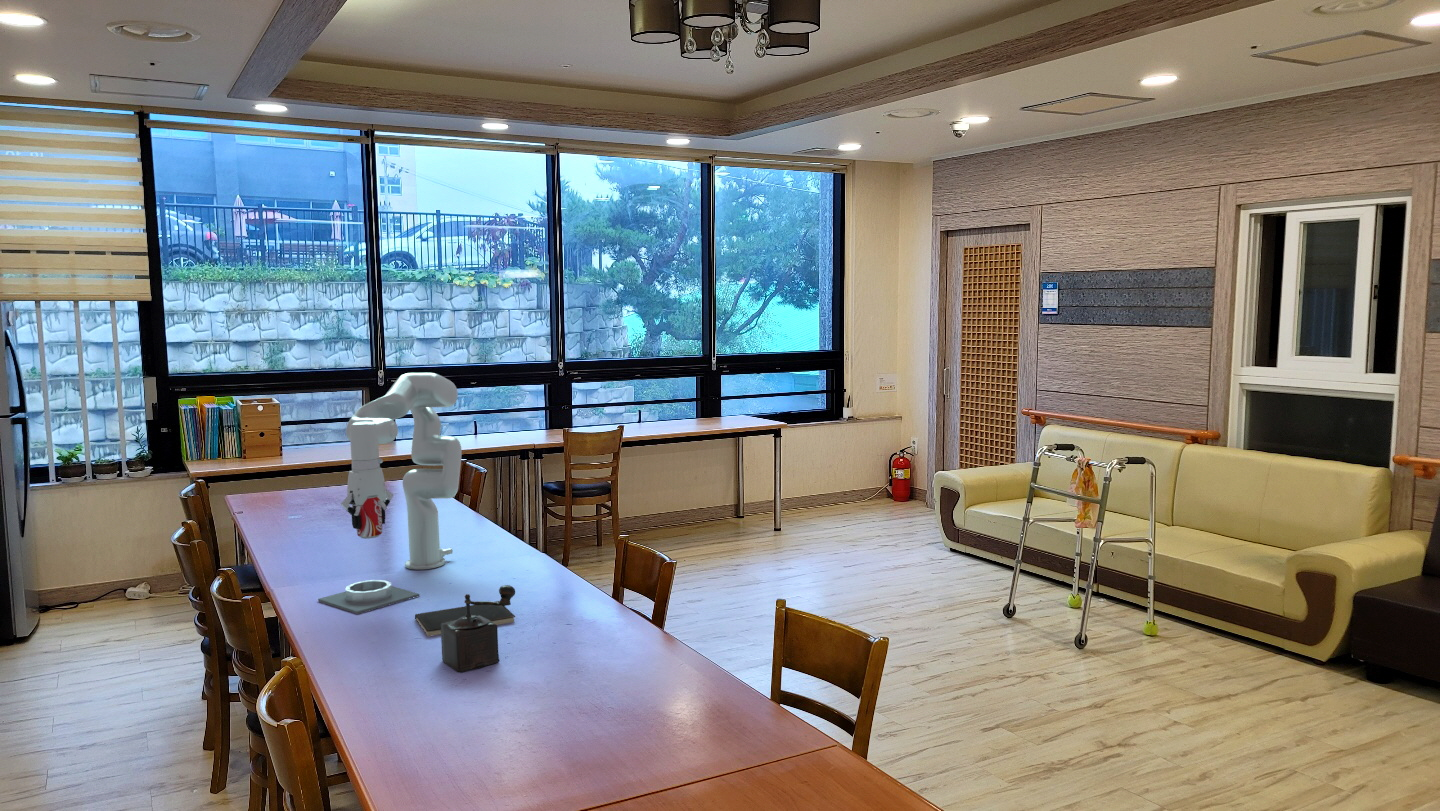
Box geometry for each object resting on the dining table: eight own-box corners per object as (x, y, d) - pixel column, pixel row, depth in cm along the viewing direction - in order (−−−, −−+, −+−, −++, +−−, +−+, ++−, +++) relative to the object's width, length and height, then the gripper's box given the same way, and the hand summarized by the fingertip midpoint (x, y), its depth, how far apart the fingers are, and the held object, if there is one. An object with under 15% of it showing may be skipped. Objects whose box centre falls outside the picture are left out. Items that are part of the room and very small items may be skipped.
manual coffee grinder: (459, 674, 230) (456, 598, 228) (440, 661, 239) (437, 587, 237) (521, 658, 239) (518, 585, 237) (500, 646, 248) (497, 575, 246)
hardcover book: (515, 624, 266) (515, 616, 266) (427, 639, 256) (427, 630, 255) (499, 608, 280) (498, 600, 280) (415, 621, 270) (414, 613, 269)
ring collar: (375, 587, 298) (375, 577, 297) (400, 594, 290) (399, 584, 290) (337, 597, 288) (336, 587, 288) (361, 605, 280) (361, 595, 280)
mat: (379, 585, 303) (379, 582, 303) (419, 596, 291) (419, 593, 290) (318, 601, 287) (318, 598, 287) (357, 614, 275) (357, 611, 275)
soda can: (374, 539, 283) (372, 498, 282) (352, 539, 284) (349, 497, 283) (387, 534, 290) (385, 493, 289) (365, 533, 291) (363, 492, 290)
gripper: (384, 459, 294) (387, 518, 296) (330, 468, 280) (334, 530, 282) (399, 461, 289) (402, 521, 291) (345, 470, 276) (349, 533, 278)
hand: (369, 525), depth 287 cm, fingers closed on soda can, 7 cm apart
